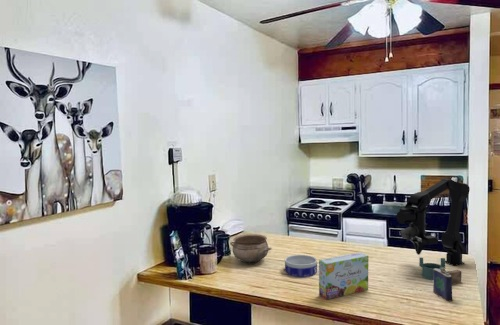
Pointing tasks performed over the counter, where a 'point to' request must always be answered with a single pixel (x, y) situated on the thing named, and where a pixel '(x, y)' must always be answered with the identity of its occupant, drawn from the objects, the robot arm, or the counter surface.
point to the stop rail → (455, 276)
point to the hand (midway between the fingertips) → (418, 254)
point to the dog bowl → (301, 265)
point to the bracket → (430, 268)
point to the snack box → (343, 275)
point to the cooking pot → (250, 247)
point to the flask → (442, 283)
